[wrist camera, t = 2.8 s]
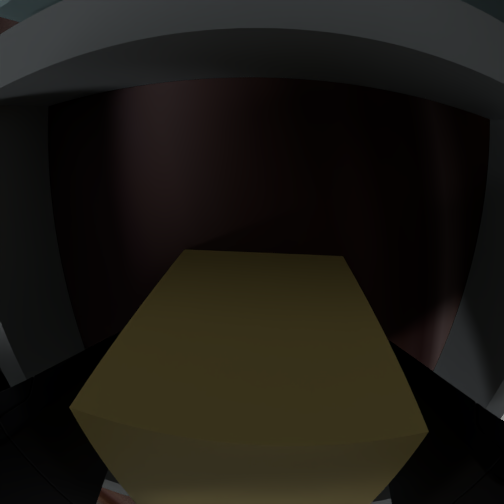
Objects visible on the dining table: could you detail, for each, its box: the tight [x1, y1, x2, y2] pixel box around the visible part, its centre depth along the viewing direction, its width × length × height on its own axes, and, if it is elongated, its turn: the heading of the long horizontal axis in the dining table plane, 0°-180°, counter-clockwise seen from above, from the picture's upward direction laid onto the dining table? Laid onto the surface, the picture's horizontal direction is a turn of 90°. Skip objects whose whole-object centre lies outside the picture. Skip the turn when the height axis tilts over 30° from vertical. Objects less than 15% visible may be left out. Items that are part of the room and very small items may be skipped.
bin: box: [0, 0, 504, 504], centre depth 7 cm, size 17×17×4 cm
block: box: [69, 249, 429, 504], centre depth 6 cm, size 4×4×6 cm
